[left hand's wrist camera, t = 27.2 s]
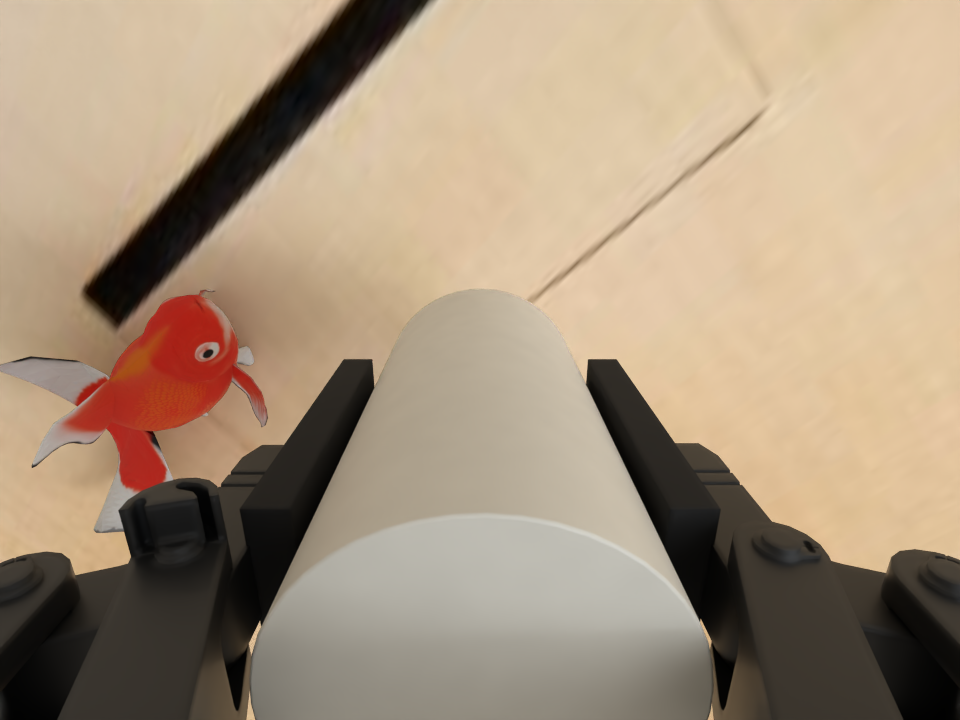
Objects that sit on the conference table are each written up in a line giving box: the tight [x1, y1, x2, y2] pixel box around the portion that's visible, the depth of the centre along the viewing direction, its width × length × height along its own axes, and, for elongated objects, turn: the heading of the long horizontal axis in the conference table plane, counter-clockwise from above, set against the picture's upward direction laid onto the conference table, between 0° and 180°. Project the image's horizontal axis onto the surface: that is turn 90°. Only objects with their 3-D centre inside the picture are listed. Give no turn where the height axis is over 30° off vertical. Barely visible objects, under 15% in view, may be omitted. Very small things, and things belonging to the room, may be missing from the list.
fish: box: [0, 289, 268, 533], centre depth 26 cm, size 11×16×10 cm
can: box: [249, 289, 714, 720], centre depth 12 cm, size 6×6×11 cm
